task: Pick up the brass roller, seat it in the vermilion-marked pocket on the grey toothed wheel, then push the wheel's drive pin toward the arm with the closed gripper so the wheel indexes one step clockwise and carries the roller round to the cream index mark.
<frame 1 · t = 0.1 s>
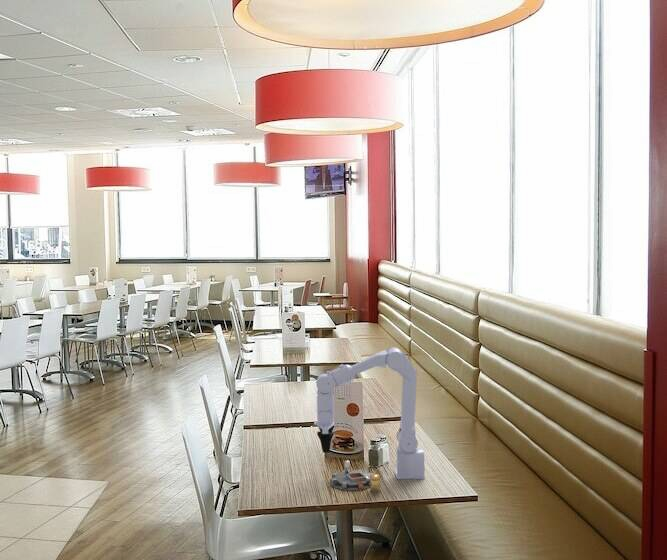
hand: (326, 448, 248), 10 cm above the table, fingers open, 7 cm apart
base flange: (352, 482, 243), on the table
roller: (375, 490, 235), on the table
grey toothed wheel: (352, 472, 243), point 3 cm above the table, hinge at 0.0°
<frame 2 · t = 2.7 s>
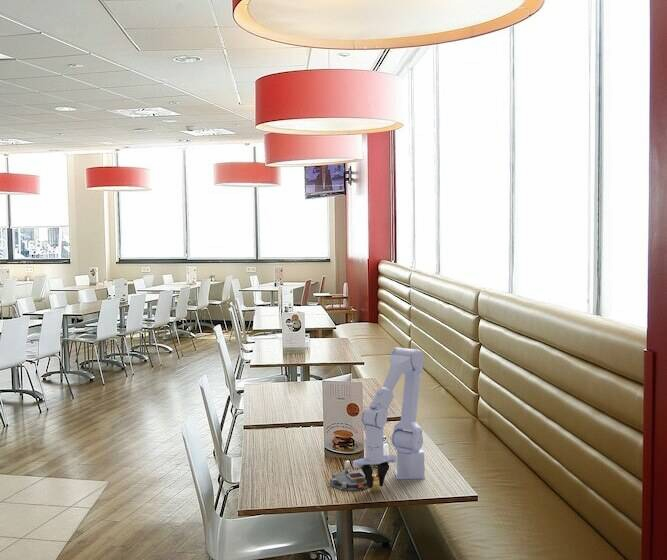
hand: (375, 486, 235), 1 cm above the table, fingers closed on roller, 3 cm apart
roller: (375, 490, 235), on the table, touching gripper
everything else where it was.
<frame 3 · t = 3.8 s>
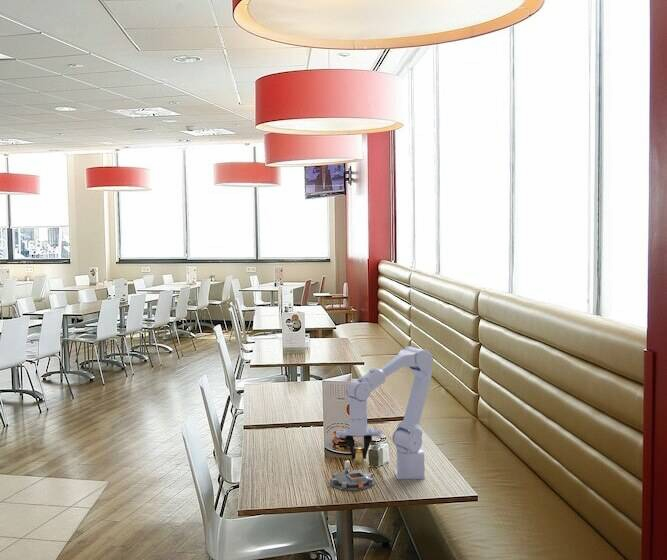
hand: (358, 458, 239), 9 cm above the table, fingers closed on roller, 3 cm apart
roller: (359, 463, 239), point 8 cm above the table, touching gripper
everything else where it was.
when the fingers open (4 cm above the table, at t = 5.2 s): roller stays where it is, resting on grey toothed wheel.
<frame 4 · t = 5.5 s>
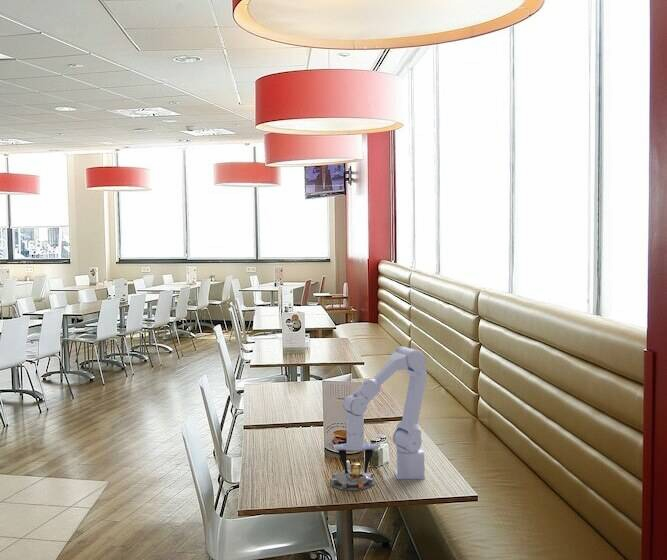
hand: (355, 472, 240), 4 cm above the table, fingers open, 6 cm apart
roller: (355, 478, 240), point 2 cm above the table, touching grey toothed wheel
grey toothed wheel: (352, 472, 243), point 3 cm above the table, hinge at 0.0°, touching roller
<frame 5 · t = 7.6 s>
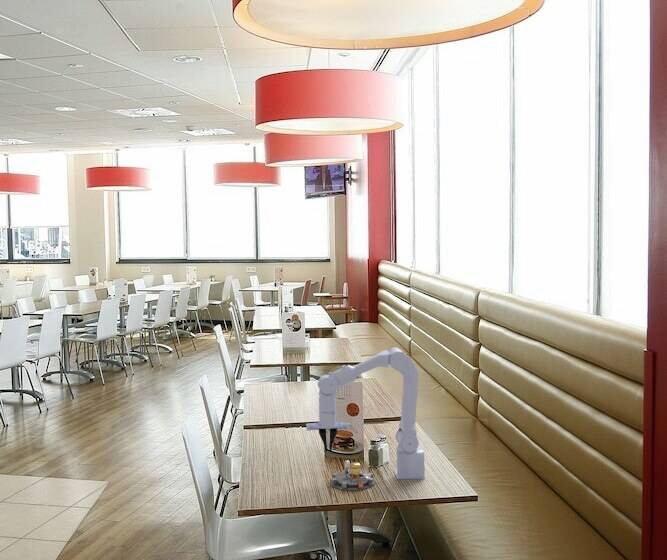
hand: (328, 450, 246), 10 cm above the table, fingers closed
nothing on the table moved.
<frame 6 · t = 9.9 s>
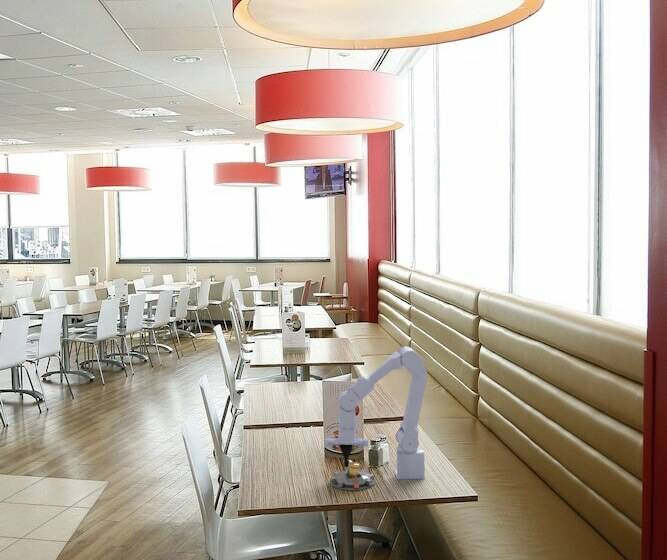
hand: (346, 466, 247), 4 cm above the table, fingers closed, pressing on grey toothed wheel
grey toothed wheel: (352, 472, 243), point 3 cm above the table, hinge at -12.1°, touching gripper, roller
everything else where it was.
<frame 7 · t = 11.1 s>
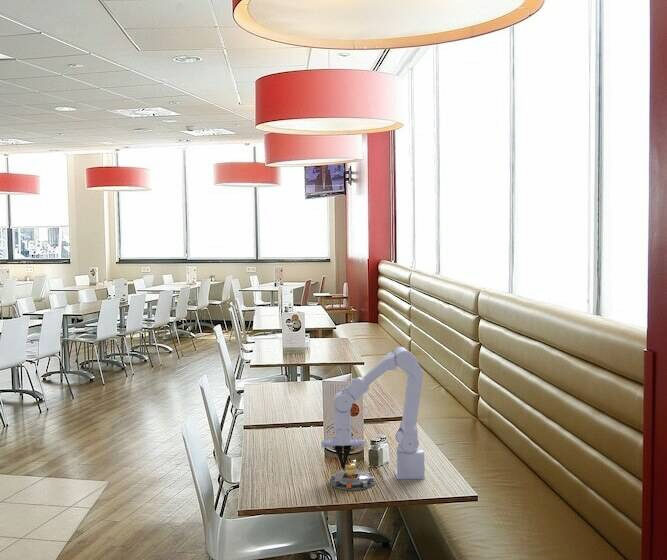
hand: (343, 467, 247), 4 cm above the table, fingers closed
roller: (350, 478, 240), point 2 cm above the table, touching grey toothed wheel
grey toothed wheel: (352, 472, 243), point 3 cm above the table, hinge at -32.0°, touching roller
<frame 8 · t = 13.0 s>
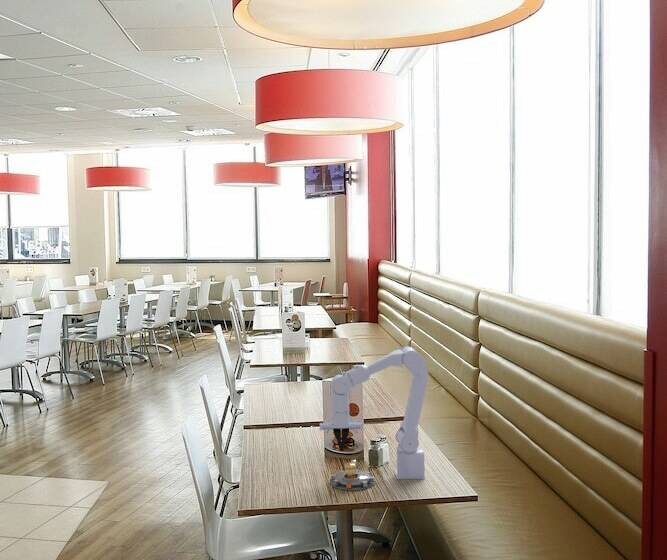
hand: (341, 450, 246), 10 cm above the table, fingers closed
nothing on the table moved.
at the end: grey toothed wheel at -32° (first picture: +0°); roller 1.0 cm from the target spot on the grey toothed wheel, point 2.3 cm above the grey toothed wheel's base; roller tilted 5° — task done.
